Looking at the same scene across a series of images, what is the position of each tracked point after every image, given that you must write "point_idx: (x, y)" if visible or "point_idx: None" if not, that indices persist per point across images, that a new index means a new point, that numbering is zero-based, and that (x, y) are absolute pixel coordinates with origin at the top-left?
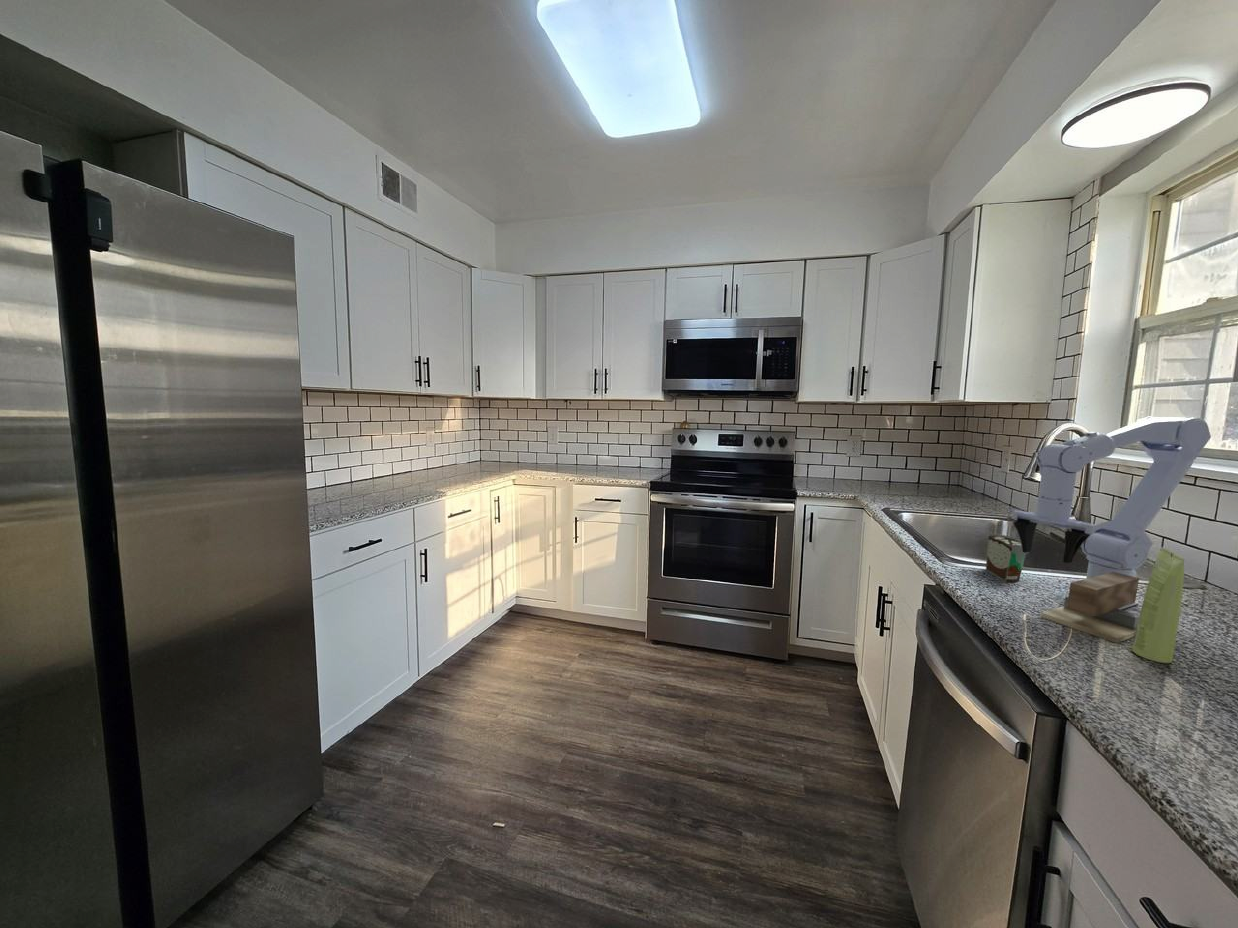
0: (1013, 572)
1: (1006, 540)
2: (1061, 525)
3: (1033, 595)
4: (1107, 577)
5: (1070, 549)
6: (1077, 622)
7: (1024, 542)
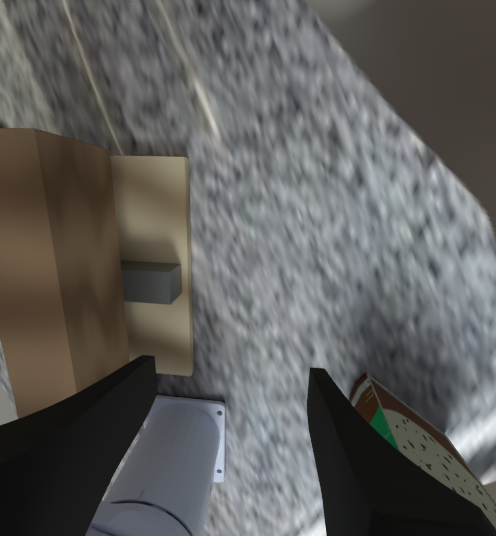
0: (362, 404)
1: None
2: None
3: (277, 325)
4: (50, 363)
5: (82, 393)
6: (112, 174)
7: (329, 398)
